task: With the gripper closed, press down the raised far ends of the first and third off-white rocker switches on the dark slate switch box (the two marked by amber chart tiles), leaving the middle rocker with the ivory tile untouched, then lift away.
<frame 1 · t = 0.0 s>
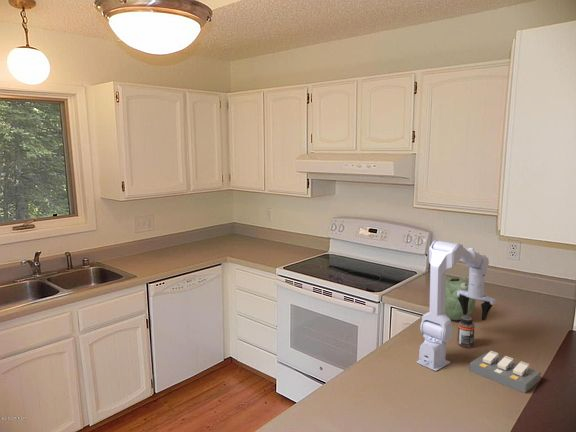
hand: (474, 316, 167), 10 cm above the worktop, tool pointing down, fingers open, 7 cm apart
rocker a: (490, 357, 145), point 4 cm above the worktop, hinge at -10.0°
rocker c: (521, 368, 137), point 4 cm above the worktop, hinge at -10.0°
rocker b: (505, 362, 141), point 4 cm above the worktop, hinge at -10.0°
cabbage: (453, 319, 191), on the worktop
switch box: (504, 375, 141), on the worktop
supplement bottle: (465, 345, 164), on the worktop
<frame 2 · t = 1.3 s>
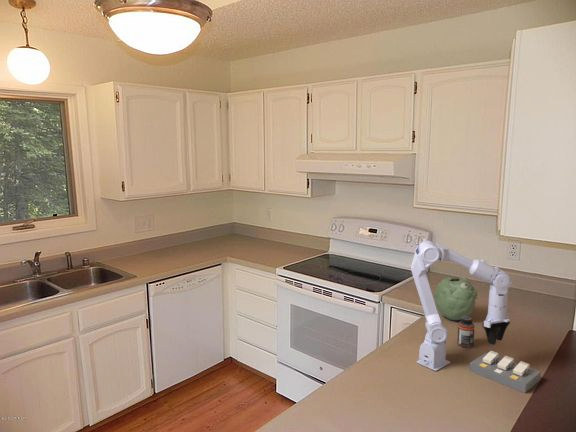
hand: (494, 341, 146), 9 cm above the worktop, tool pointing down, fingers open, 5 cm apart
nothing on the worktop moved.
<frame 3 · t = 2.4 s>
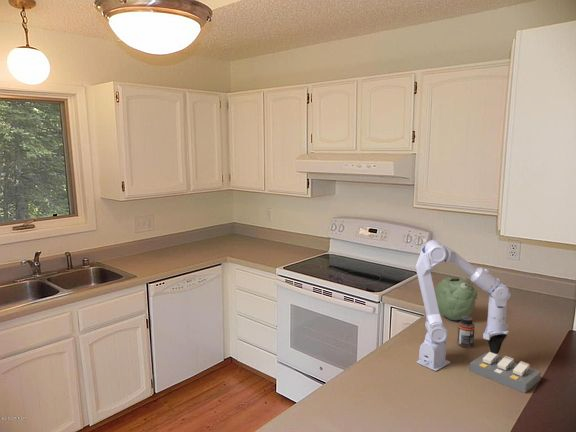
hand: (494, 353, 147), 5 cm above the worktop, tool pointing down, fingers closed, pressing on rocker a
rocker a: (490, 357, 145), point 4 cm above the worktop, hinge at -9.7°, touching gripper
everything else where it was.
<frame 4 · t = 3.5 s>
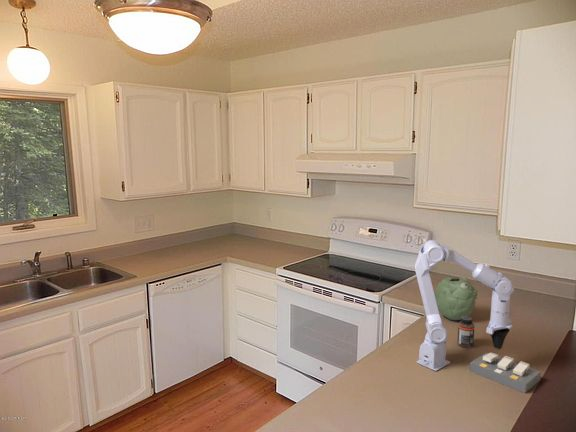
hand: (497, 347, 145), 7 cm above the worktop, tool pointing down, fingers closed
rocker a: (490, 357, 145), point 4 cm above the worktop, hinge at 4.3°
everything else where it was.
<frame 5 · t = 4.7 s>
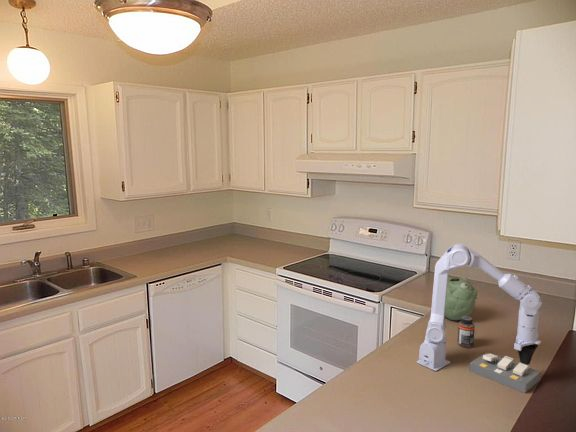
hand: (524, 364, 139), 5 cm above the worktop, tool pointing down, fingers closed, pressing on rocker c
rocker a: (490, 357, 145), point 4 cm above the worktop, hinge at 12.0°
rocker c: (521, 368, 137), point 4 cm above the worktop, hinge at -9.4°, touching gripper
everything else where it was.
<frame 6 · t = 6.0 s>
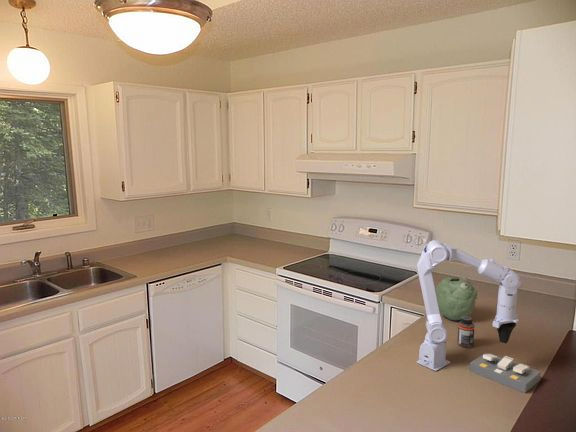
hand: (503, 342, 145), 10 cm above the worktop, tool pointing down, fingers closed
rocker a: (490, 357, 145), point 4 cm above the worktop, hinge at 15.7°
rocker c: (521, 368, 137), point 4 cm above the worktop, hinge at 6.2°
everything else where it was.
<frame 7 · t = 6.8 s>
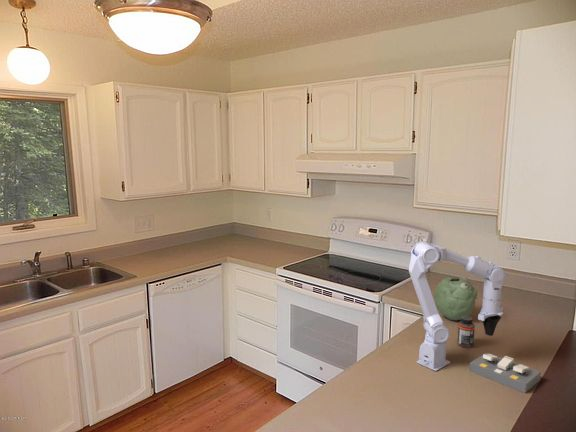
hand: (489, 334, 149), 10 cm above the worktop, tool pointing down, fingers closed
rocker a: (490, 357, 145), point 4 cm above the worktop, hinge at 16.9°, touching switch box
rocker c: (521, 368, 137), point 4 cm above the worktop, hinge at 11.3°
everything else where it was.
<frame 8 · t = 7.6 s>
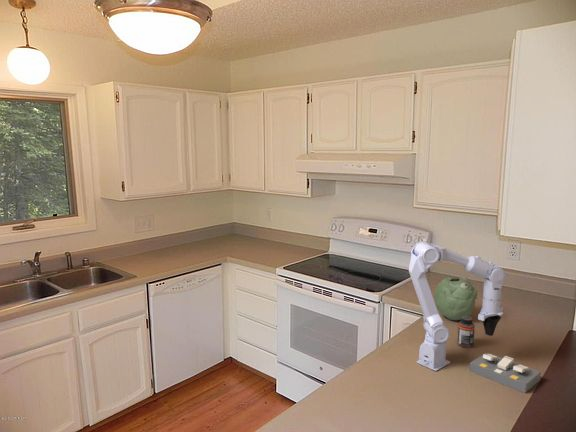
hand: (489, 334, 149), 10 cm above the worktop, tool pointing down, fingers closed
rocker a: (490, 357, 145), point 4 cm above the worktop, hinge at 17.5°, touching switch box
rocker c: (521, 368, 137), point 4 cm above the worktop, hinge at 14.3°
everything else where it was.
at the end: rocker a at +18° (first picture: -10°); rocker c at +15° (first picture: -10°); rocker b at -10° (first picture: -10°) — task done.
